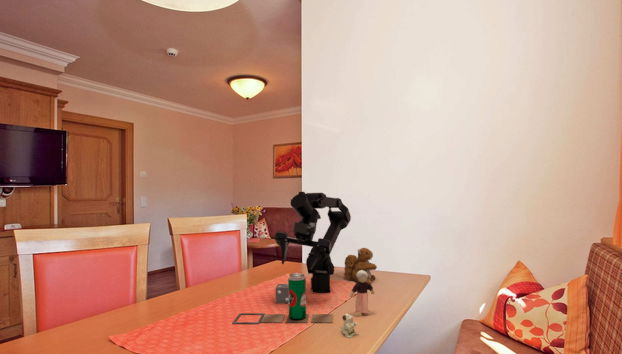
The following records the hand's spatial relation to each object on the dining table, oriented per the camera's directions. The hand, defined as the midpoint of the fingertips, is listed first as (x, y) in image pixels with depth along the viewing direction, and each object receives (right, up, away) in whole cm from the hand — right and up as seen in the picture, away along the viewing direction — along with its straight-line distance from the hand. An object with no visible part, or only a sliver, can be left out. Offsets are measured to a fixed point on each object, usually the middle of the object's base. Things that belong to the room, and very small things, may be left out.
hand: (296, 266), depth 107 cm
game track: (-3, -12, -11) cm, 17 cm away
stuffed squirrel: (+24, -14, +30) cm, 41 cm away
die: (-4, -13, +5) cm, 14 cm away
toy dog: (+14, -11, -22) cm, 29 cm away
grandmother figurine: (+20, -12, -9) cm, 25 cm away
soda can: (+1, -12, -11) cm, 16 cm away
